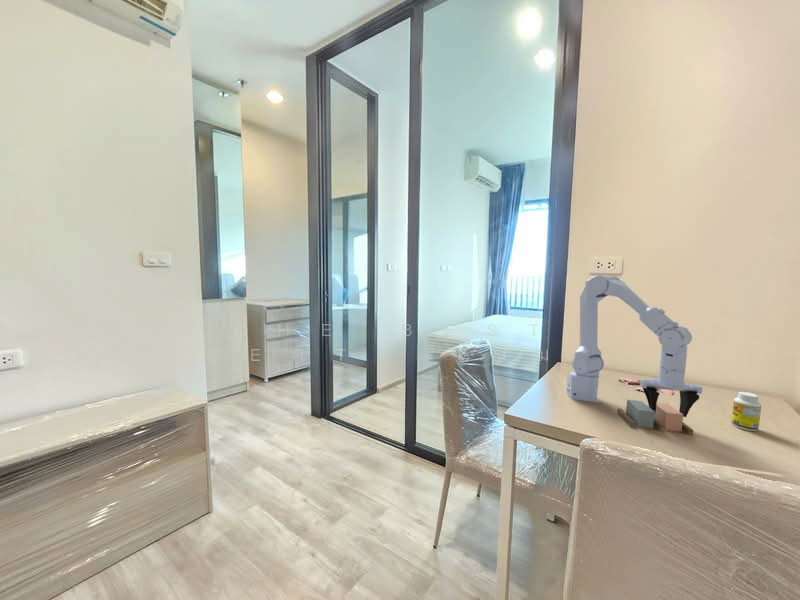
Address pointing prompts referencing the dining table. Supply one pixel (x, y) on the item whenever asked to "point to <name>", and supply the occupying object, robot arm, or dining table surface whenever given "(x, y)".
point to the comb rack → (656, 426)
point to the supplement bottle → (746, 411)
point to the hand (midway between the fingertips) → (667, 413)
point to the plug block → (668, 417)
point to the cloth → (642, 388)
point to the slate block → (640, 413)
